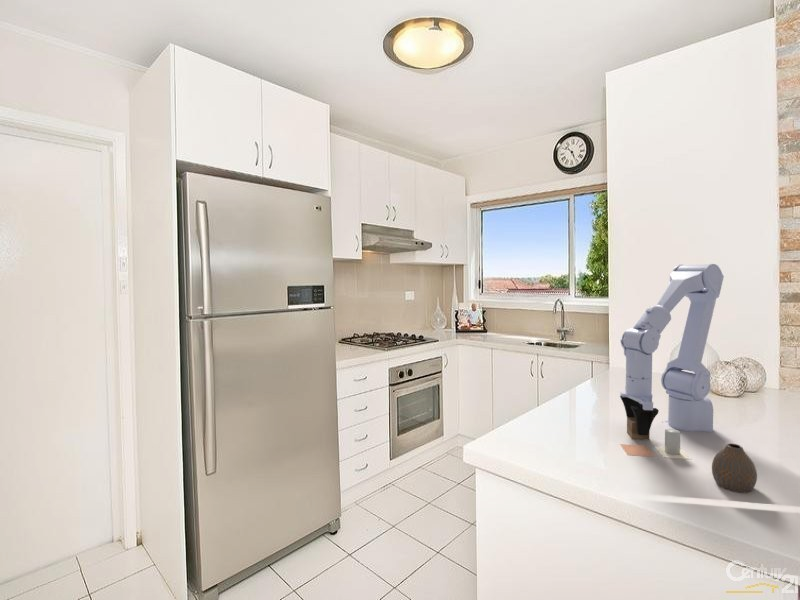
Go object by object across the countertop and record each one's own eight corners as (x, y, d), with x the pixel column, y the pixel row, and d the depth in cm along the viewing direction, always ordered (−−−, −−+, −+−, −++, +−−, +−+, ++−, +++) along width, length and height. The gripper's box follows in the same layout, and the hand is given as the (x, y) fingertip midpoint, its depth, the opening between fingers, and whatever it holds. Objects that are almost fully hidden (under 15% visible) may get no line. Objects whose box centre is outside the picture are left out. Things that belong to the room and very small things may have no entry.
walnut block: (643, 436, 108) (644, 417, 108) (649, 442, 104) (649, 423, 104) (626, 435, 109) (627, 417, 109) (631, 442, 105) (631, 422, 105)
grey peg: (676, 450, 98) (677, 429, 97) (682, 455, 95) (682, 434, 95) (662, 449, 98) (662, 428, 98) (667, 454, 96) (668, 433, 95)
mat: (678, 449, 100) (678, 445, 100) (693, 464, 92) (694, 461, 92) (618, 445, 103) (618, 442, 103) (628, 460, 95) (628, 456, 95)
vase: (702, 481, 85) (703, 439, 84) (734, 479, 86) (735, 437, 85) (732, 500, 78) (733, 454, 78) (766, 497, 79) (767, 452, 78)
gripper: (613, 369, 113) (612, 418, 114) (630, 383, 99) (629, 439, 100) (642, 369, 112) (641, 419, 113) (663, 384, 98) (662, 441, 99)
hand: (637, 428), depth 106 cm, fingers open, 7 cm apart
